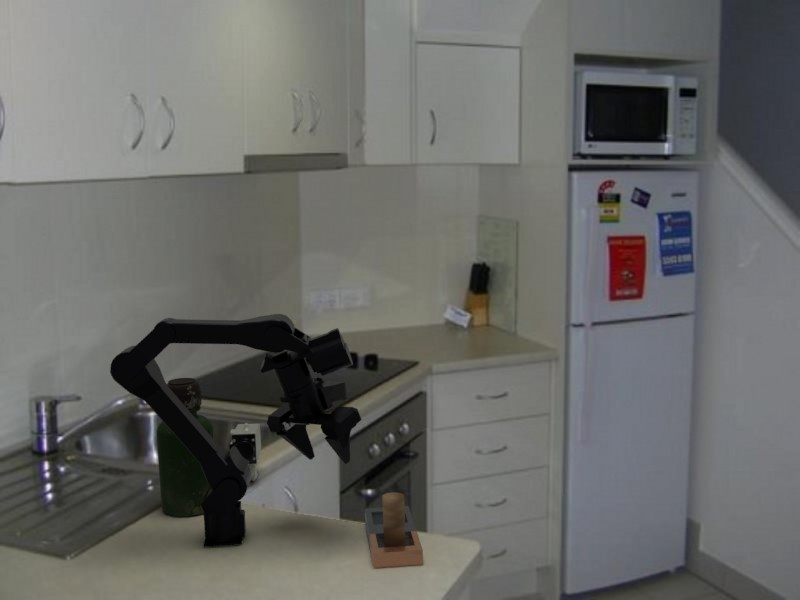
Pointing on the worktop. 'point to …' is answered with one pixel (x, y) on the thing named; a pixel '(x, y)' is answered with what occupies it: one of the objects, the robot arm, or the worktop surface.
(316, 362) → the robot arm
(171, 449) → the spray bottle
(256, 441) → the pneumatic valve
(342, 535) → the worktop surface
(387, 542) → the walnut peg
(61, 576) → the worktop surface
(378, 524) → the grey copper flat frame
